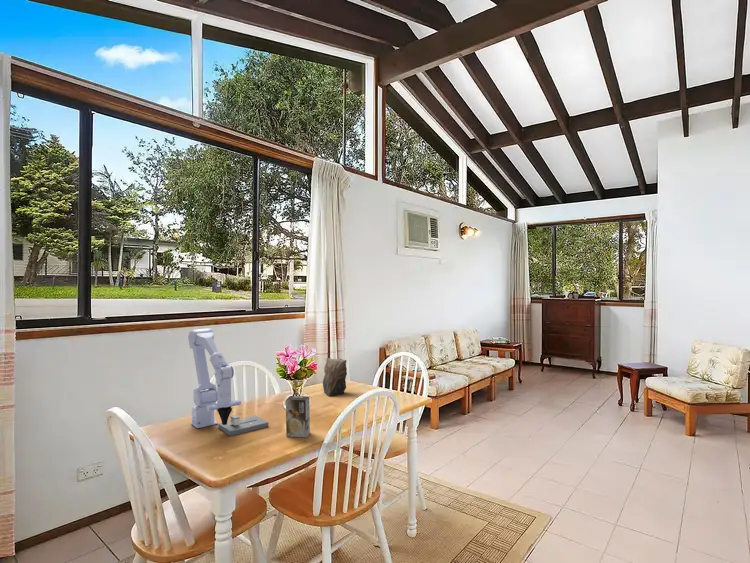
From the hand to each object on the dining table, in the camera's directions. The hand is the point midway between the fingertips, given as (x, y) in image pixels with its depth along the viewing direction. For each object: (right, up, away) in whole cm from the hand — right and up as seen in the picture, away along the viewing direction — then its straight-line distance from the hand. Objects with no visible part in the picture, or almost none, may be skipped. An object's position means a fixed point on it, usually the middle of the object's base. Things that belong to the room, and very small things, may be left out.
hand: (224, 424), depth 191 cm
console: (+7, -3, +6) cm, 10 cm away
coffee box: (+33, -4, -3) cm, 33 cm away
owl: (+42, -3, +63) cm, 76 cm away
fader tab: (+4, -1, +3) cm, 5 cm away
